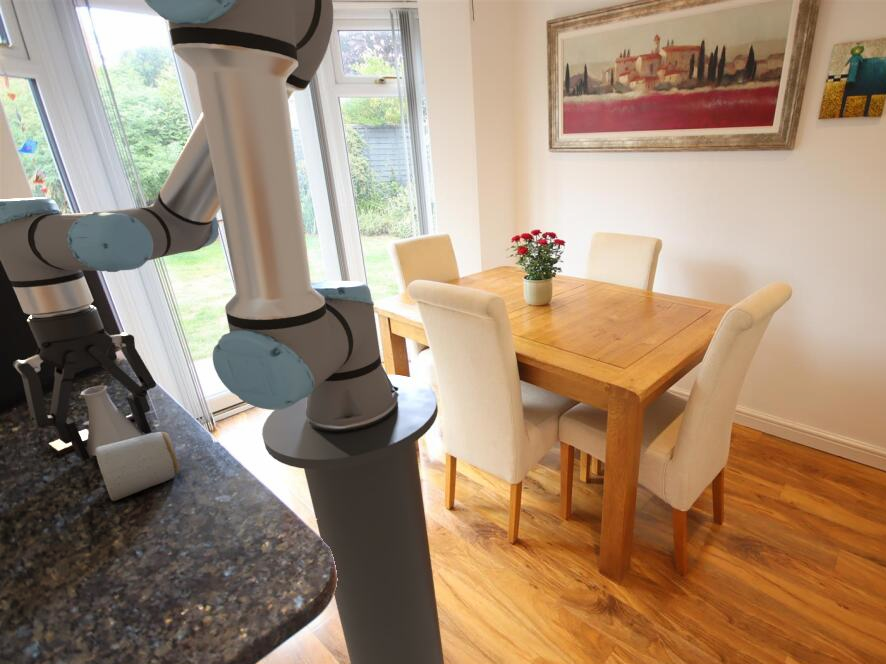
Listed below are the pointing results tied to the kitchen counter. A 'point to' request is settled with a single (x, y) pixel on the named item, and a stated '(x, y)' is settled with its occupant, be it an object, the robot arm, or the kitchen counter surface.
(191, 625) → the kitchen counter surface
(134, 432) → the flask
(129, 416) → the spatula
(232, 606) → the kitchen counter surface
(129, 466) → the white cylinder
